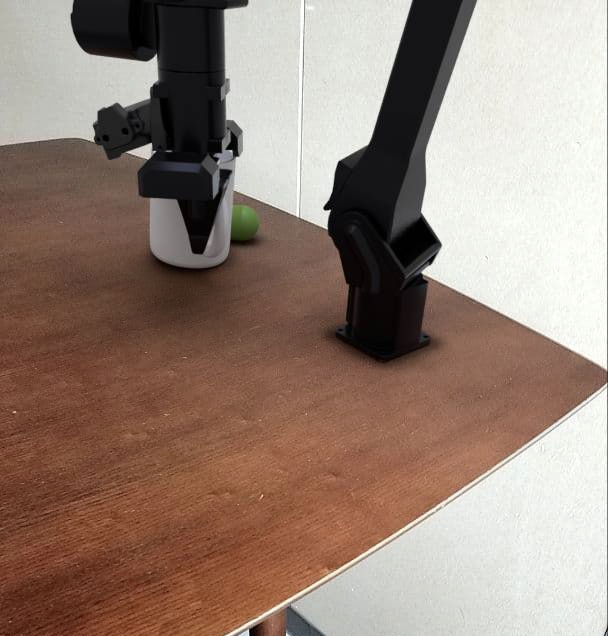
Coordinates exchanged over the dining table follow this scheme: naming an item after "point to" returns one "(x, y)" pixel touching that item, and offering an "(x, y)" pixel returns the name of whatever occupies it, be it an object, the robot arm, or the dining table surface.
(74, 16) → the robot arm
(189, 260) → the mug
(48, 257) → the dining table surface
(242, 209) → the pickle
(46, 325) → the dining table surface
